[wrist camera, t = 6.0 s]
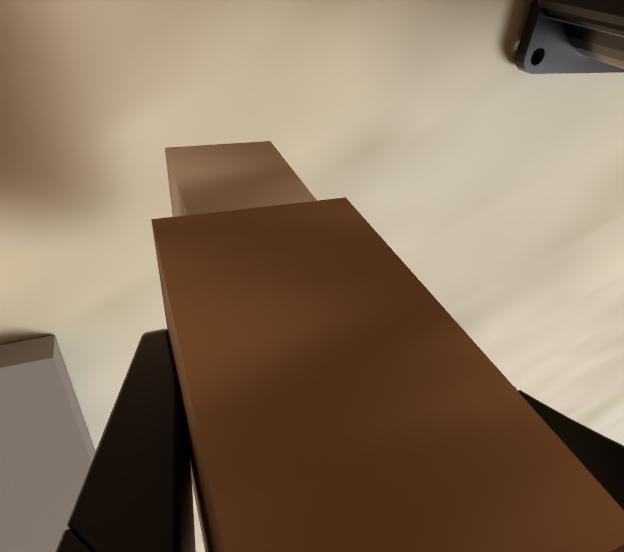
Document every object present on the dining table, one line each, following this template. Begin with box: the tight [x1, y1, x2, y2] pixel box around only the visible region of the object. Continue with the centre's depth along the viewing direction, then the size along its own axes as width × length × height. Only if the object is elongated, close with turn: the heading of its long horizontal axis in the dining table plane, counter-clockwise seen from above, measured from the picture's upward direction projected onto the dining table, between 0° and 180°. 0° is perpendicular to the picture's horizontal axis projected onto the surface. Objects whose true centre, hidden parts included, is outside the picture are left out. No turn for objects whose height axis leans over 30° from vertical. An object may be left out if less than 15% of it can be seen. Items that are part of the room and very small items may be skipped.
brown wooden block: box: [151, 141, 624, 552], centre depth 7 cm, size 3×5×8 cm, turn 176°
